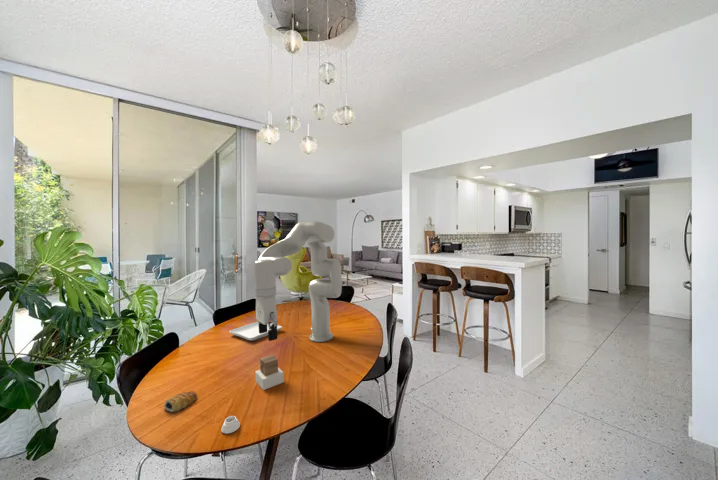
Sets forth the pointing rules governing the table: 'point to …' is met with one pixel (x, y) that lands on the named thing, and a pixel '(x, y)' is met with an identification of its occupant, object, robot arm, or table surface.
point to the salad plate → (251, 331)
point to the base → (269, 379)
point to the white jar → (230, 425)
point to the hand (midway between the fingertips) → (267, 336)
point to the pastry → (180, 401)
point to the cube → (269, 365)
